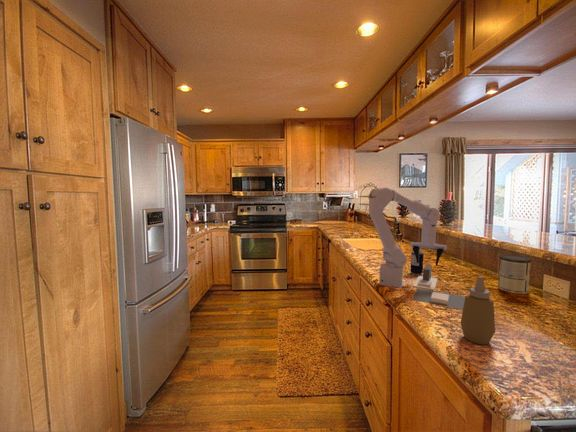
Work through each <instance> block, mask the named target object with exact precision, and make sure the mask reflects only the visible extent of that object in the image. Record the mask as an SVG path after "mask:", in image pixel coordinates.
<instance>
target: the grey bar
mask: <svg viewBox="0 0 576 432" xmlns="http://www.w3.org/2000/svg"><path fill="white" fill-rule="evenodd" d="M432 266H433V265H431V264H425V265H424V266H423V273H422V276H423V280H421V279H420V280H419V282H418V285H419V286H425V287H431V285H432V281H430V279H431V278H432Z"/></svg>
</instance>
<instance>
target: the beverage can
mask: <svg viewBox="0 0 576 432" xmlns="http://www.w3.org/2000/svg"><path fill="white" fill-rule="evenodd" d="M424 254H425V253H424V251H423V250H421V249H420V251H419V263H417V260H416V256H415V253H414V251H413V249H411V253H410V273H411V274H412V275H415V276H422V275H423V269H424V256H425V255H424Z"/></svg>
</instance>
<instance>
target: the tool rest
mask: <svg viewBox="0 0 576 432" xmlns="http://www.w3.org/2000/svg"><path fill="white" fill-rule="evenodd" d="M420 279H421V280H423V275H418V276H417V279H416V280H415V282H414V283H413V285H412V287H414V288H417V289H418V288H420V289H426V290H431V291H435V289H436V285H437V283H438V280H439V279H438V278H436V277H431V279H430V281H432V285H431V287H425V286H419V285H418V282H419V280H420Z"/></svg>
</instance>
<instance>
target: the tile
mask: <svg viewBox="0 0 576 432" xmlns="http://www.w3.org/2000/svg"><path fill="white" fill-rule="evenodd" d="M442 293H443V292H442ZM442 293H436V292H433V293H432V296H431V302H436V303H441V304H446V305H448V300H449V295H448V294H449V293H448V294H442Z"/></svg>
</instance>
